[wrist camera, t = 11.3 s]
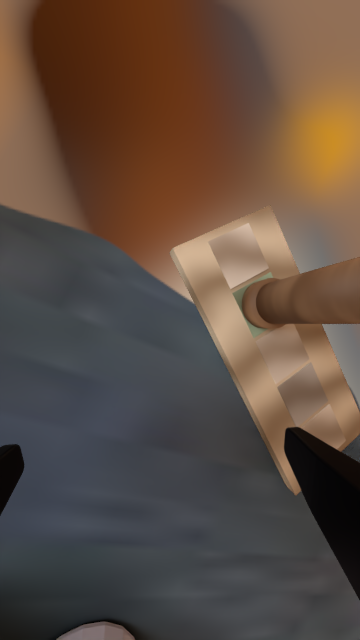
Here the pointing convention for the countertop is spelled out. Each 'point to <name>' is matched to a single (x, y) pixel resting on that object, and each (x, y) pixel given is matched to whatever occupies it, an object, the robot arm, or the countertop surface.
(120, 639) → the soap bottle
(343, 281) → the pawn
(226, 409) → the countertop surface
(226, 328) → the track board
